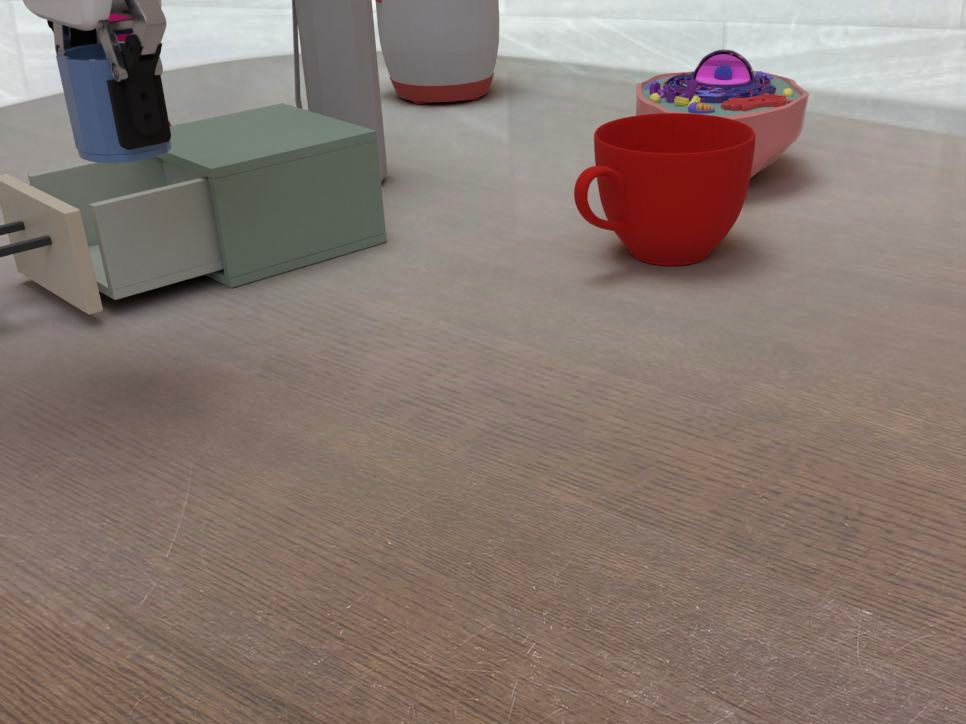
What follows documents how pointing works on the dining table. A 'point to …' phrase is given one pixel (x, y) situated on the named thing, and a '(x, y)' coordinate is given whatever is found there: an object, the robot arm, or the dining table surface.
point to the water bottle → (339, 63)
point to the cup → (95, 107)
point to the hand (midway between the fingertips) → (122, 132)
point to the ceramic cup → (669, 183)
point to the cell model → (732, 100)
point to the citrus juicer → (439, 47)
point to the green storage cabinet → (284, 187)
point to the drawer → (110, 228)
